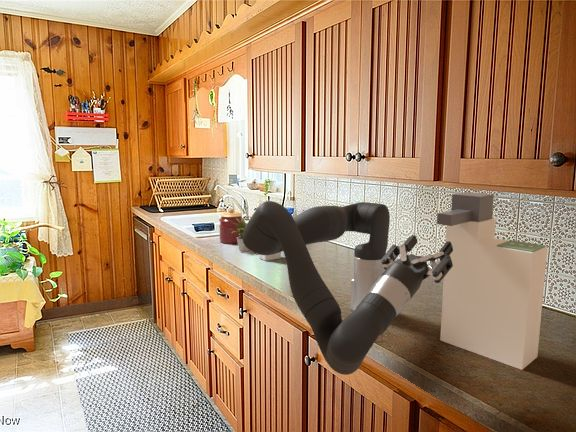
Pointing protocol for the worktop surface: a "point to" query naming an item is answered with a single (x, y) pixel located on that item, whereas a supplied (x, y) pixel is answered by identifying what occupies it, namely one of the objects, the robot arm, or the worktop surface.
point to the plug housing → (467, 209)
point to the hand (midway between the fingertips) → (432, 241)
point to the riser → (493, 294)
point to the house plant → (239, 239)
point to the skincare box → (271, 256)
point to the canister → (229, 226)
